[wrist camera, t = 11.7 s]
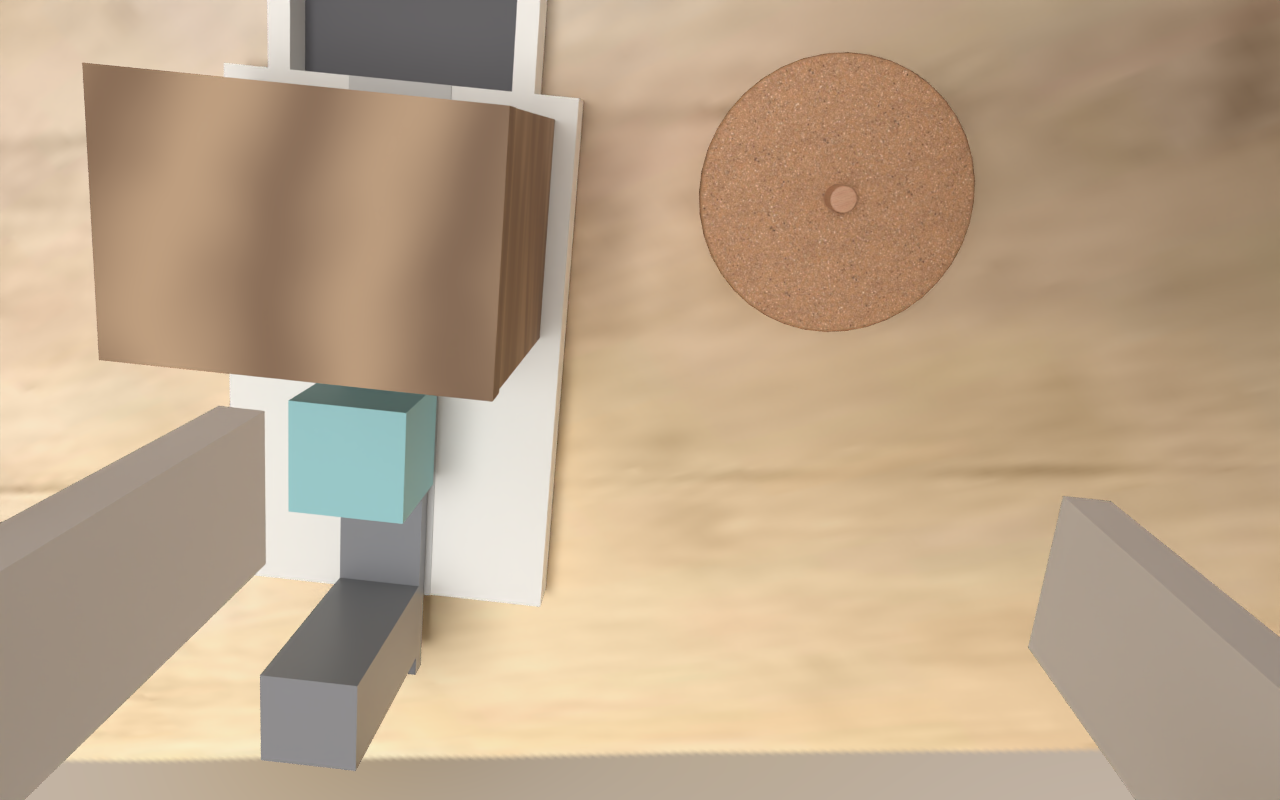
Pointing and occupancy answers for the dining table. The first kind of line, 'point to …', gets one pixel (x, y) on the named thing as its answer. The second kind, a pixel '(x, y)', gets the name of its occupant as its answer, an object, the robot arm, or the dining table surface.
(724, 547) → the dining table surface
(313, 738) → the grey l-shaped piece
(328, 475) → the block
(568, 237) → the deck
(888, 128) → the lidded jar
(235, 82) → the tunnel
